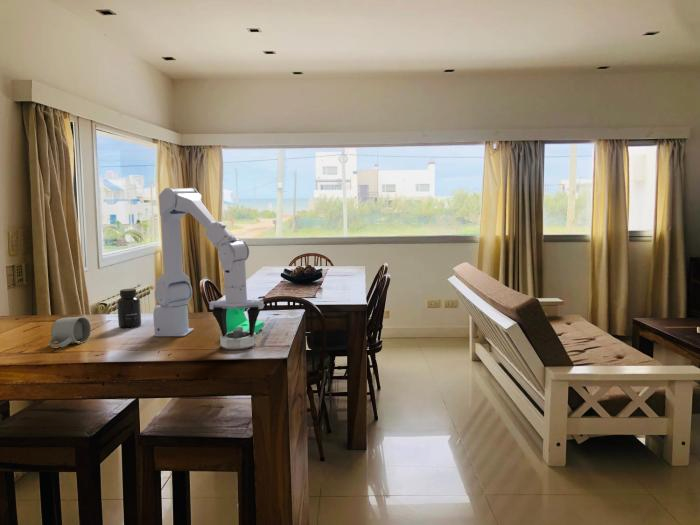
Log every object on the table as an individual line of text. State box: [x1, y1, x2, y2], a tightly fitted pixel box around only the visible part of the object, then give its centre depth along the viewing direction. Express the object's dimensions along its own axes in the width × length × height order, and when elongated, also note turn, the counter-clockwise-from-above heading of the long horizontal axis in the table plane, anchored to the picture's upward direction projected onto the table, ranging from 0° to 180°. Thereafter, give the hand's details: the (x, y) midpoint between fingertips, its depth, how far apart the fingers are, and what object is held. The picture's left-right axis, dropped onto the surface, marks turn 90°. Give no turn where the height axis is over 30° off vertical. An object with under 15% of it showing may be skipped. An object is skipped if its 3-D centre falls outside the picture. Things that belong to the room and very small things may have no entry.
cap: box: [233, 327, 243, 338], centre depth 150 cm, size 5×5×4 cm
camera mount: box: [226, 308, 265, 334], centre depth 163 cm, size 12×8×10 cm, turn 162°
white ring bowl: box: [219, 331, 257, 351], centre depth 150 cm, size 9×9×3 cm
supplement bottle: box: [116, 288, 142, 330], centre depth 175 cm, size 7×7×12 cm
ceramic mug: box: [48, 316, 92, 348], centre depth 156 cm, size 11×8×8 cm
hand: (238, 334), depth 150 cm, fingers open, 7 cm apart
